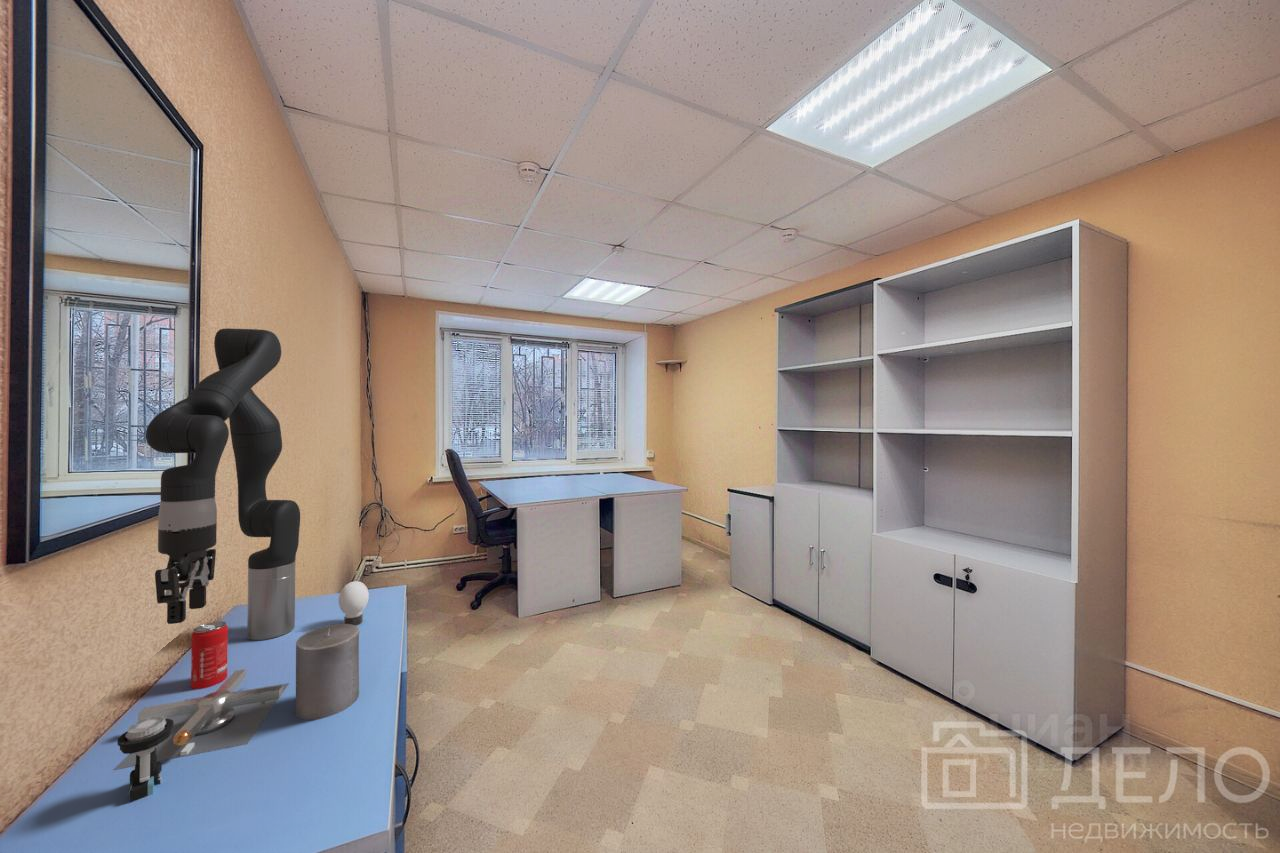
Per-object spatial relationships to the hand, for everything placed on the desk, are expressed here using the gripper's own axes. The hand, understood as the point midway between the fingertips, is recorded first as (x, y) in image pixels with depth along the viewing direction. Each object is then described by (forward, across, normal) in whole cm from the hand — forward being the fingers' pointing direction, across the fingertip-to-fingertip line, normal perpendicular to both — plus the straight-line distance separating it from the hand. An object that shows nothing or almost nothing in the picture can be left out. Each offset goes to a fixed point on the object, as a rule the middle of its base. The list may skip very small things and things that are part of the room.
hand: (187, 614), depth 81 cm
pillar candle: (+18, +8, +24) cm, 31 cm away
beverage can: (+18, -8, 0) cm, 19 cm away
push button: (+18, +21, +5) cm, 28 cm away
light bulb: (+18, -31, +20) cm, 41 cm away
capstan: (+17, +7, +7) cm, 19 cm away
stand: (+18, +7, +7) cm, 20 cm away
